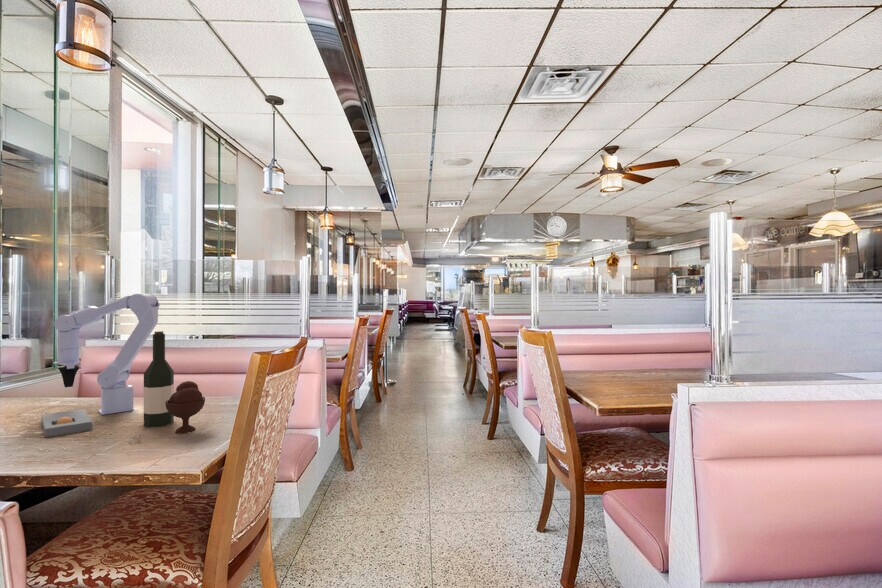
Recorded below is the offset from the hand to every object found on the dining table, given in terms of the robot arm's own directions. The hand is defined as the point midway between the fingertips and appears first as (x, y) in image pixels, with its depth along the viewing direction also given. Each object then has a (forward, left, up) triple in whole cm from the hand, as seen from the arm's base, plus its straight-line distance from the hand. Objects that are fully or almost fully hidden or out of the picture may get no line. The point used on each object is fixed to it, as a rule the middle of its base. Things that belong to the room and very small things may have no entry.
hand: (68, 386), depth 160 cm
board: (+2, +20, -9) cm, 22 cm away
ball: (+3, +25, -7) cm, 26 cm away
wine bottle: (-20, +38, -10) cm, 44 cm away
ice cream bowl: (-24, +53, -10) cm, 59 cm away
